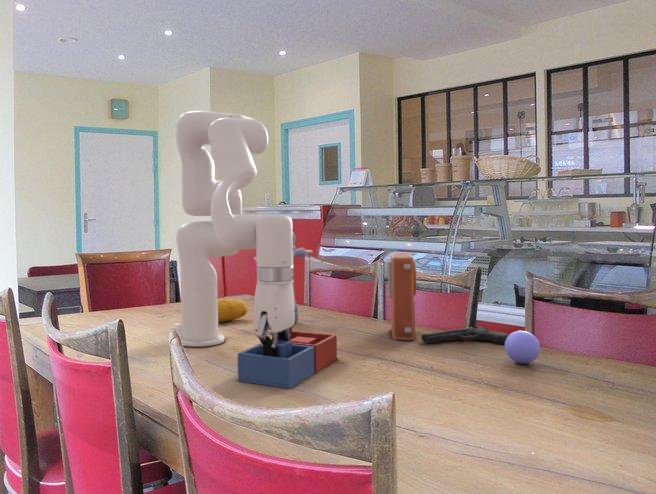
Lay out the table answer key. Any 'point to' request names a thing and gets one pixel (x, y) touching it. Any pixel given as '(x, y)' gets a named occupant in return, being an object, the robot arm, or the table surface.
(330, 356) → the red bin
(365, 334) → the table surface
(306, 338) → the red block
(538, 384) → the table surface
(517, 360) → the sphere
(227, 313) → the potato
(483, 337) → the handgun
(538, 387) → the table surface
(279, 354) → the blue block
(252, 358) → the blue bin
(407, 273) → the control panel
